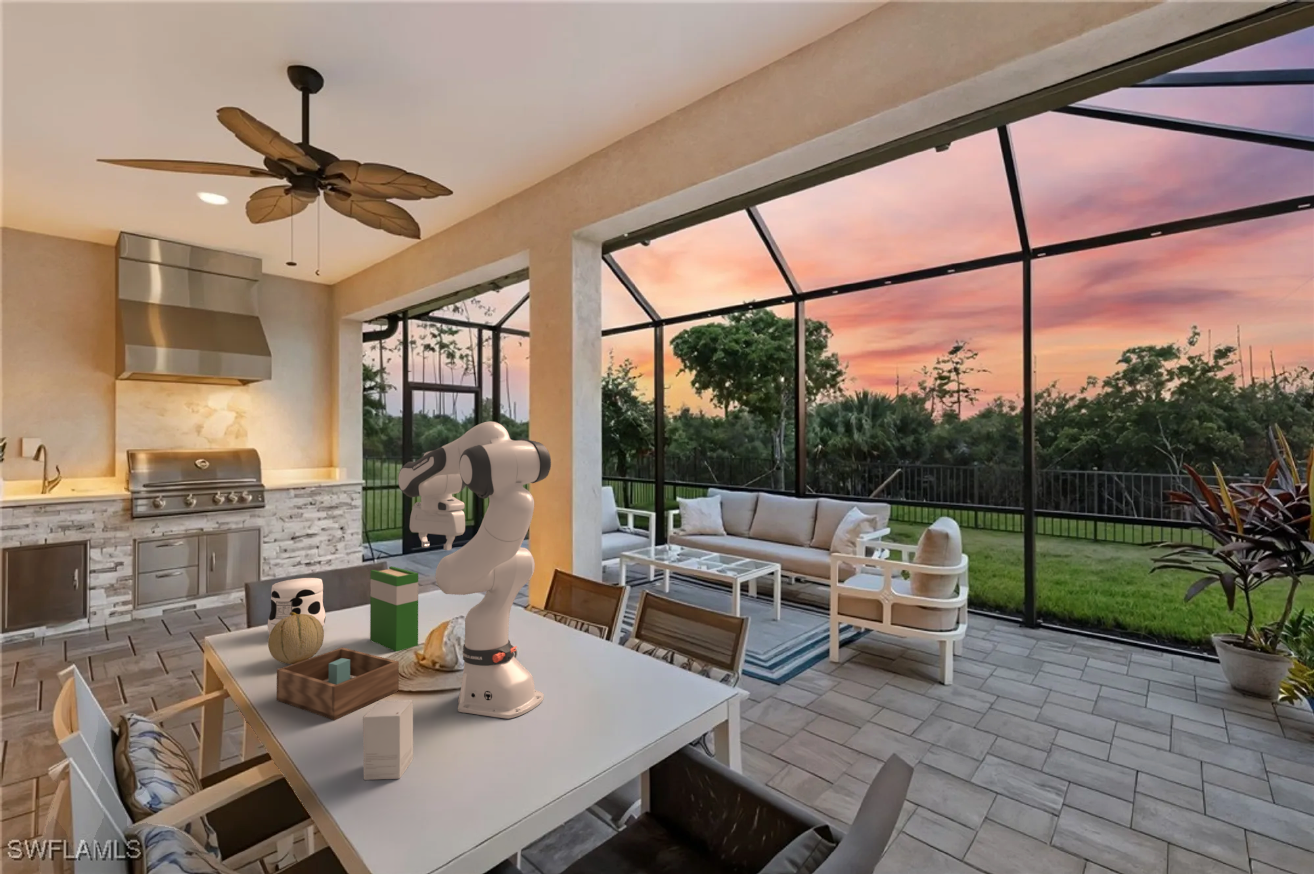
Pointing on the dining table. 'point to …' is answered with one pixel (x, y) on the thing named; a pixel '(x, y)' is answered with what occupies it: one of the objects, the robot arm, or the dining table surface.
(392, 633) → the hardback book
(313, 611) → the milk container
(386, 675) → the walled box
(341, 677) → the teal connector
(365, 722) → the supplement box
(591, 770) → the dining table surface
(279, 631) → the cantaloupe
